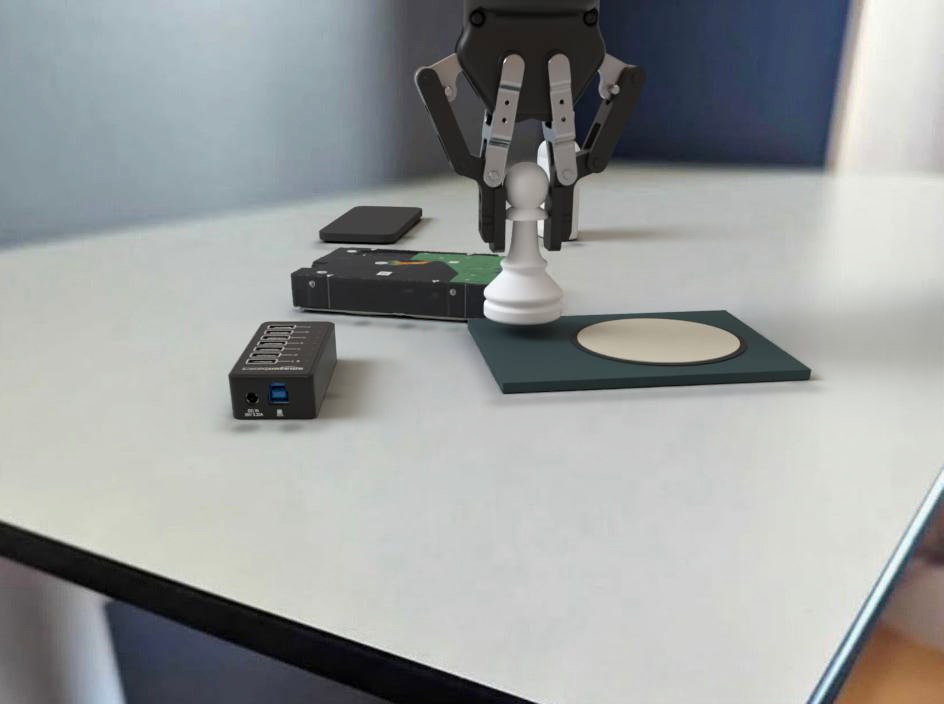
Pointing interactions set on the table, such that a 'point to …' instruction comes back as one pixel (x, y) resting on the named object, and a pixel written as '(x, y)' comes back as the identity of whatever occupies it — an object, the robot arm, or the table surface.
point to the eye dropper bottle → (543, 162)
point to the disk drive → (397, 283)
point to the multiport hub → (284, 371)
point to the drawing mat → (630, 352)
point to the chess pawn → (524, 256)
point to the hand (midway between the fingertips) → (524, 248)
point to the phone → (371, 224)
